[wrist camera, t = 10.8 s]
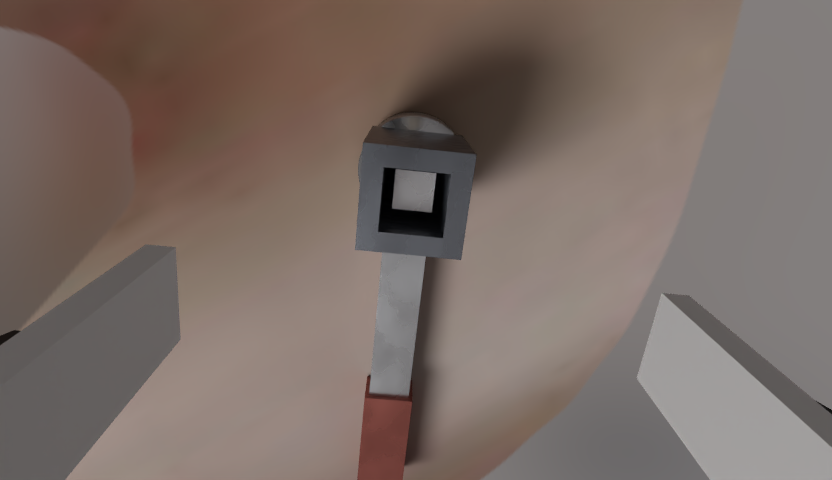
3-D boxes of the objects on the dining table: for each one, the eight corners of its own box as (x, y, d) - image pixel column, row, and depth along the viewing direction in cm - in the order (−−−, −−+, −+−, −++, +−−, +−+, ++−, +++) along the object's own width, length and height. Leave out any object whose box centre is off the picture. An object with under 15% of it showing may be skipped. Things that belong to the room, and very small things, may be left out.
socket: (372, 125, 31) (363, 142, 25) (462, 135, 32) (476, 154, 25) (365, 212, 33) (355, 249, 26) (450, 221, 33) (461, 259, 27)
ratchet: (366, 106, 34) (354, 118, 26) (469, 117, 34) (487, 133, 27) (339, 463, 44) (325, 547, 36) (420, 469, 44) (423, 554, 36)
